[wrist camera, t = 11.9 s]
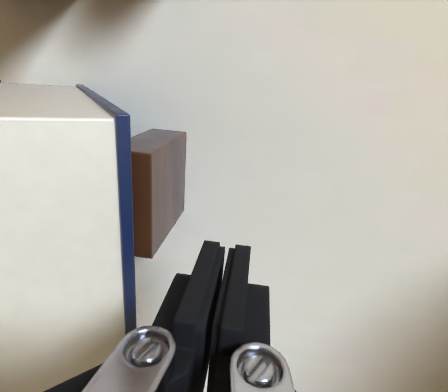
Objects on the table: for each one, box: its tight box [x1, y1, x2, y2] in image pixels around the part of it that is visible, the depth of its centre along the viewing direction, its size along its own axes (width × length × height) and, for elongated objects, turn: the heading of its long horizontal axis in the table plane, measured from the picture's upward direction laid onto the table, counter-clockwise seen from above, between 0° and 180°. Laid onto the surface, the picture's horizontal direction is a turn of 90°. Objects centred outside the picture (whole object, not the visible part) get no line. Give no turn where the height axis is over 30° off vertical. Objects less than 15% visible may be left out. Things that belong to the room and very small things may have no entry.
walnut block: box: [131, 129, 186, 259], centre depth 19 cm, size 2×6×7 cm, turn 175°
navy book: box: [0, 80, 136, 392], centre depth 16 cm, size 15×11×5 cm
